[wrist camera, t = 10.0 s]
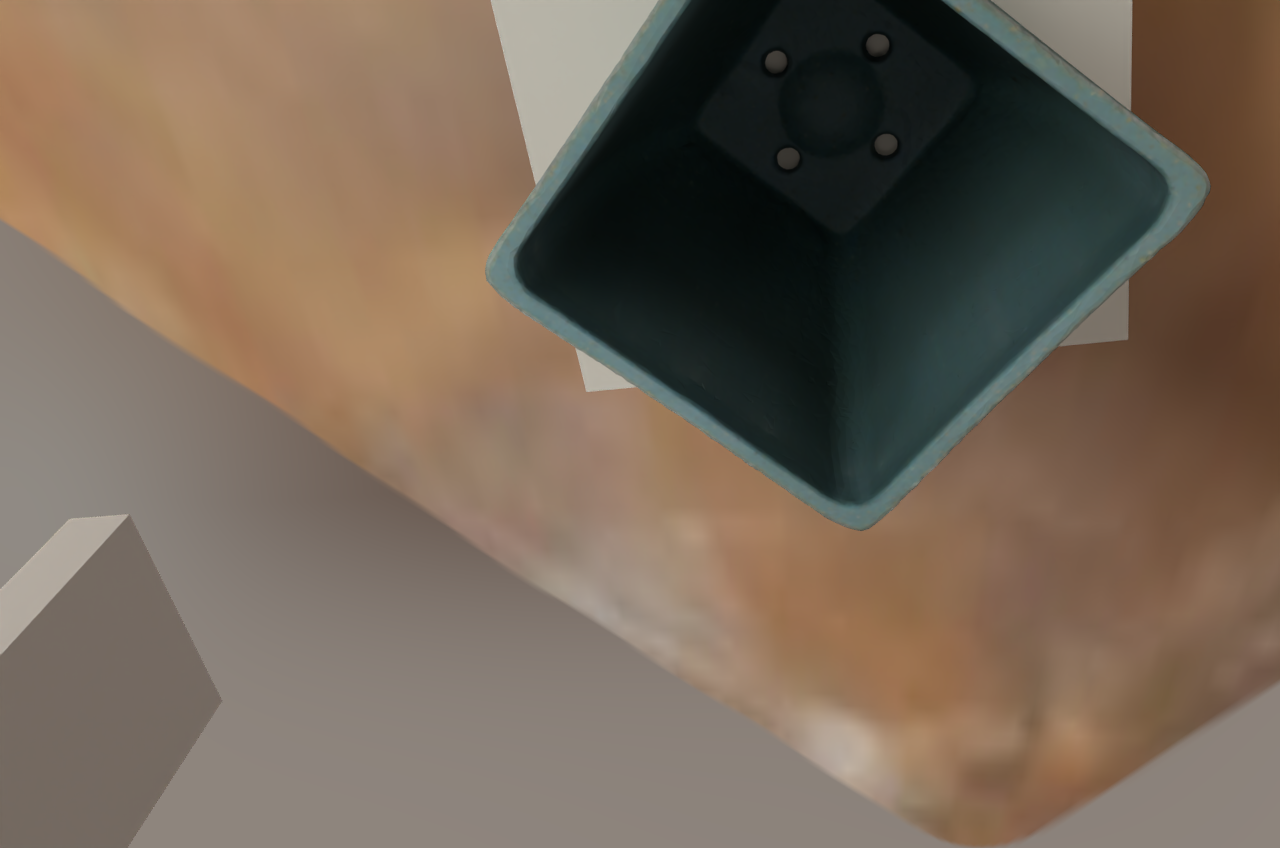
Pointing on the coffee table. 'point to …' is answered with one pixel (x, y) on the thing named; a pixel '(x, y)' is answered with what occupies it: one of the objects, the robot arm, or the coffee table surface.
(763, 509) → the coffee table surface
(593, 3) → the stone slab
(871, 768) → the coffee table surface
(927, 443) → the flower pot
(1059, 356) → the coffee table surface
